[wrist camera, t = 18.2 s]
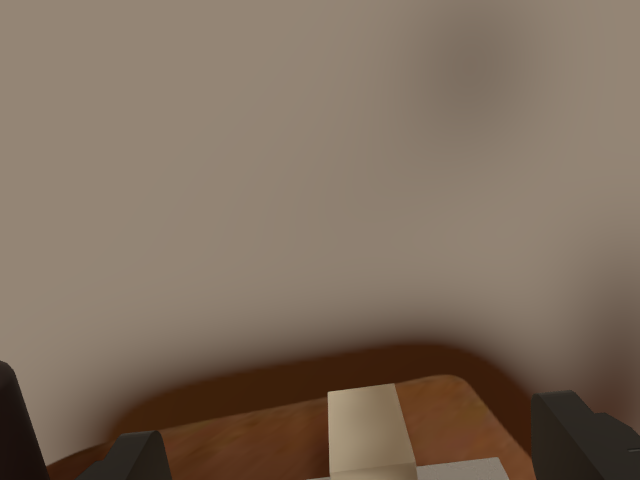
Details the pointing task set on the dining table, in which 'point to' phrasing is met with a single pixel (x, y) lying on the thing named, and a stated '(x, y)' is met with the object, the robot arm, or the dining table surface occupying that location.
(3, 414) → the bottle
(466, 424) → the dining table surface
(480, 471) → the metal rail
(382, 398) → the cream tall block
